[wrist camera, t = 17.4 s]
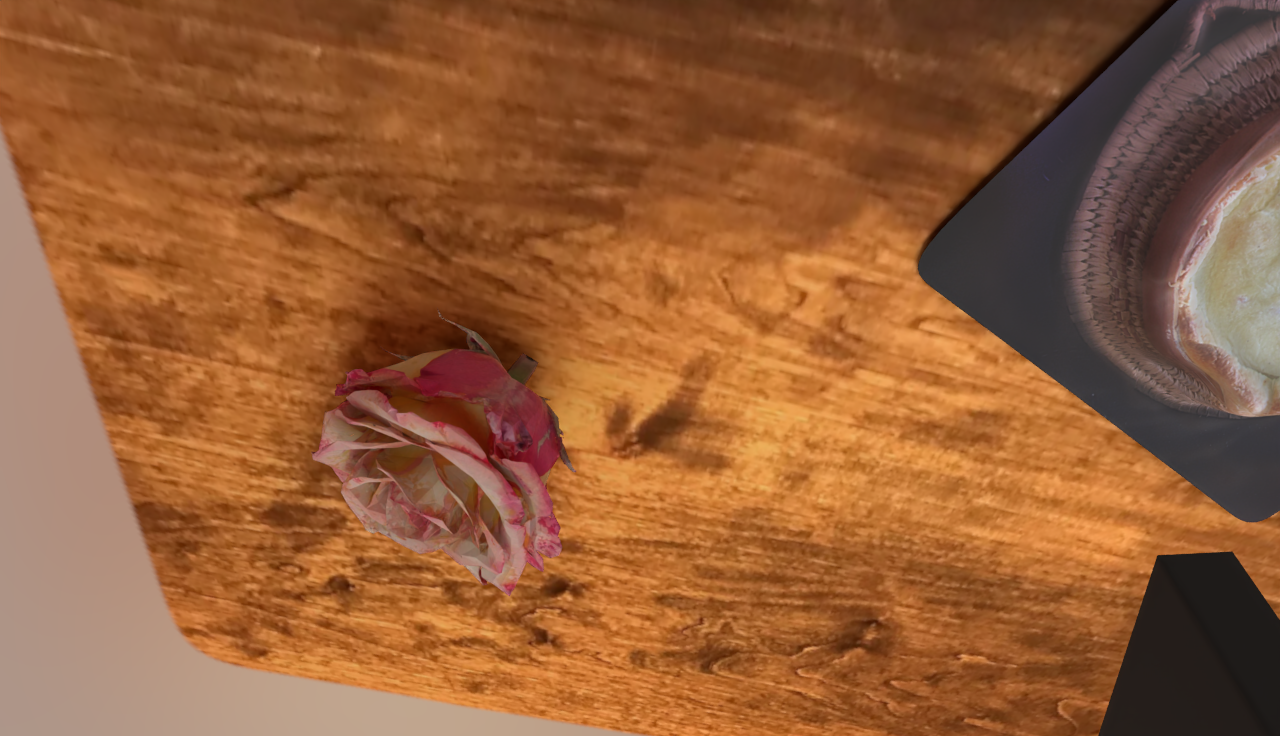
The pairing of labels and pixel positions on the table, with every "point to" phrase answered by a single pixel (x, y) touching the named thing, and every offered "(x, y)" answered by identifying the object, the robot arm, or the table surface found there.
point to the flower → (450, 458)
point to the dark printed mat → (1150, 249)
